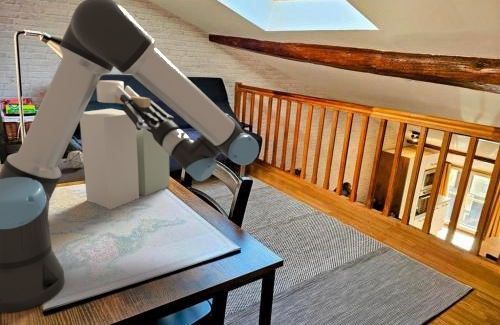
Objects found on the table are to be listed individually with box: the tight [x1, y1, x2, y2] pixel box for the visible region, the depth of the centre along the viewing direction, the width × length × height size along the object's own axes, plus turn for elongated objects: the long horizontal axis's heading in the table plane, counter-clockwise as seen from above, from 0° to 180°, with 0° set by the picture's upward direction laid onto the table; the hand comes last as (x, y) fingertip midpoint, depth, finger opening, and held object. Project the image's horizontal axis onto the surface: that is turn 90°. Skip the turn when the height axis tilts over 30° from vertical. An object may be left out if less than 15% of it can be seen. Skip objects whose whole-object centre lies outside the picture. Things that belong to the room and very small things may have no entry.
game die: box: [63, 148, 84, 171], centre depth 152 cm, size 9×8×10 cm
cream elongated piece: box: [95, 79, 151, 108], centre depth 109 cm, size 20×8×6 cm, turn 58°
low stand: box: [136, 128, 171, 196], centre depth 133 cm, size 12×12×26 cm
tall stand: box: [79, 108, 140, 210], centre depth 120 cm, size 12×12×30 cm
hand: (121, 89), depth 109 cm, fingers closed on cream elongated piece, 2 cm apart
